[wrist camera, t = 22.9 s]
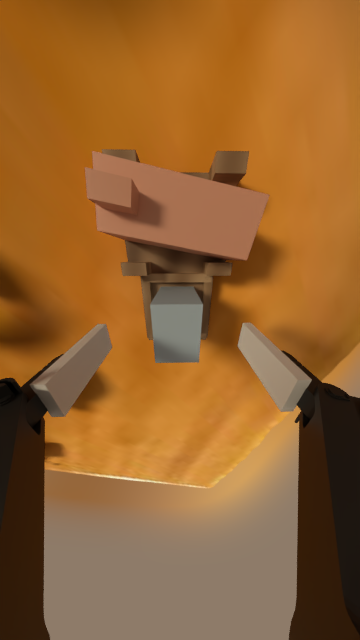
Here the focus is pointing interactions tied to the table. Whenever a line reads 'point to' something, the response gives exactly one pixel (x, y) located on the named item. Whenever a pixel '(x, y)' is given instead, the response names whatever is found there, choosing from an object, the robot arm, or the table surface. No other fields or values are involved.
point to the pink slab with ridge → (173, 208)
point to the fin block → (176, 324)
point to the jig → (176, 265)
